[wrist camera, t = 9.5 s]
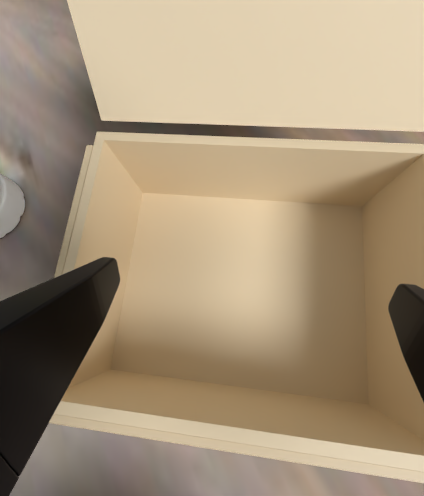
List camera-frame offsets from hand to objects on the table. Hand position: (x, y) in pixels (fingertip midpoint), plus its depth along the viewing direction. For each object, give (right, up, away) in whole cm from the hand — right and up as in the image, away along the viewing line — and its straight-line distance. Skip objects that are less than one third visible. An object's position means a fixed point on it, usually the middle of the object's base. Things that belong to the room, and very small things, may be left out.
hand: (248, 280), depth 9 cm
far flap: (+1, +11, +4) cm, 12 cm away
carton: (+1, -2, +13) cm, 13 cm away
